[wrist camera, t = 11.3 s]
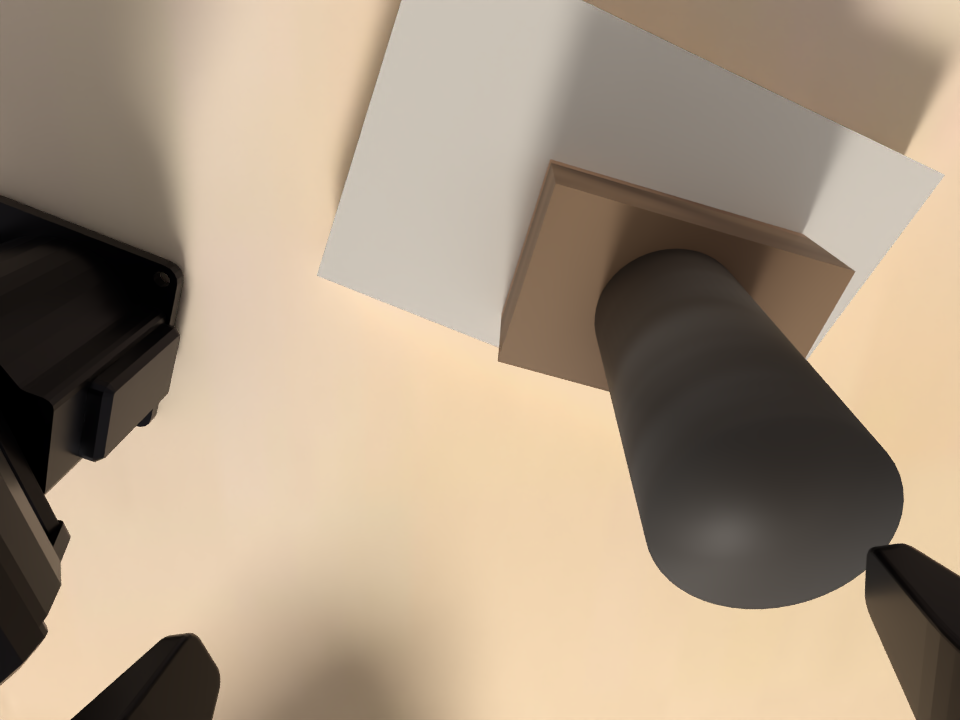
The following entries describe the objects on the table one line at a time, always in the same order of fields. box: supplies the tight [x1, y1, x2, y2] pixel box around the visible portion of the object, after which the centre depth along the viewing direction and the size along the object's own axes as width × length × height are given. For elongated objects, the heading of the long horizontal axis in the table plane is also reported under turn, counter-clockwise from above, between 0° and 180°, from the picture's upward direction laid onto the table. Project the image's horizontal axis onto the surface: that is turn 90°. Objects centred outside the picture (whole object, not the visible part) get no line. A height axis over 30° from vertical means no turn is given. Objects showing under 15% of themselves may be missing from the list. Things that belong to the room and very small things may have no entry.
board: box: [317, 0, 945, 360], centre depth 18 cm, size 14×9×2 cm, turn 68°
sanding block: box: [498, 159, 904, 609], centre depth 13 cm, size 7×4×10 cm, turn 75°
